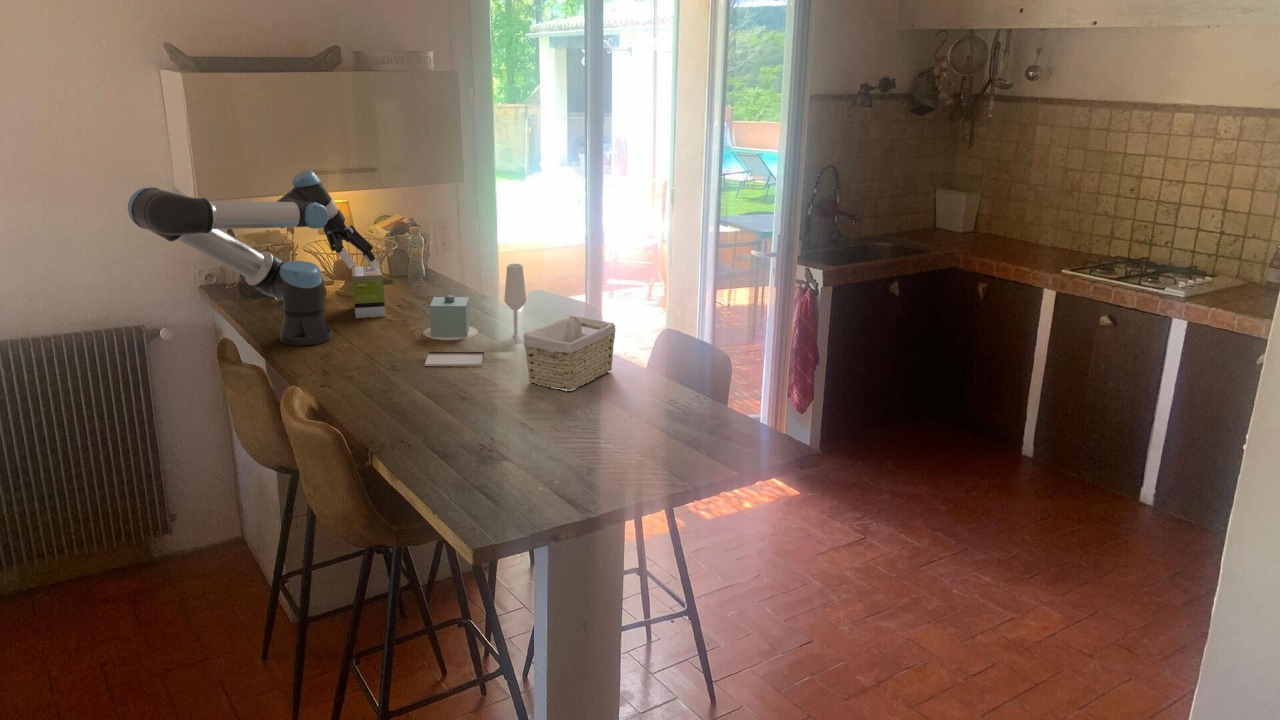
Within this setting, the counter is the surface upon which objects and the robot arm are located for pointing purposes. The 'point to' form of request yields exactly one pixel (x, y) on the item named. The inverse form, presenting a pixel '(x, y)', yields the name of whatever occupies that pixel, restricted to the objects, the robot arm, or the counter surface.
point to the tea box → (368, 292)
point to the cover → (449, 316)
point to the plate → (471, 333)
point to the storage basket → (569, 352)
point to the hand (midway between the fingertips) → (364, 267)
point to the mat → (454, 359)
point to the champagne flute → (515, 293)
